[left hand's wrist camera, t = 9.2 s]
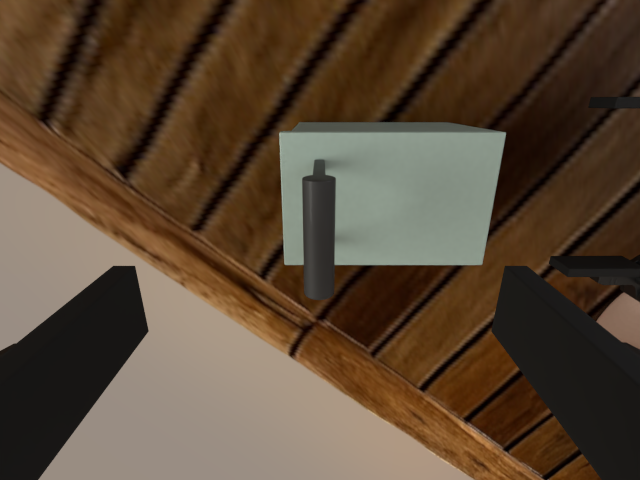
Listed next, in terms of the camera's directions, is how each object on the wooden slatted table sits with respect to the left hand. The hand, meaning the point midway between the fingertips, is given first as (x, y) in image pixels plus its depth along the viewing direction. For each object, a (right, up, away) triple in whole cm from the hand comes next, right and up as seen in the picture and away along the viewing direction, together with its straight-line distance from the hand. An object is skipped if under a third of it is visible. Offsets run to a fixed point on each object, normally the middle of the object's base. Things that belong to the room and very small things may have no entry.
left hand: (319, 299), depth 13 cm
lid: (+5, +5, +13) cm, 15 cm away
